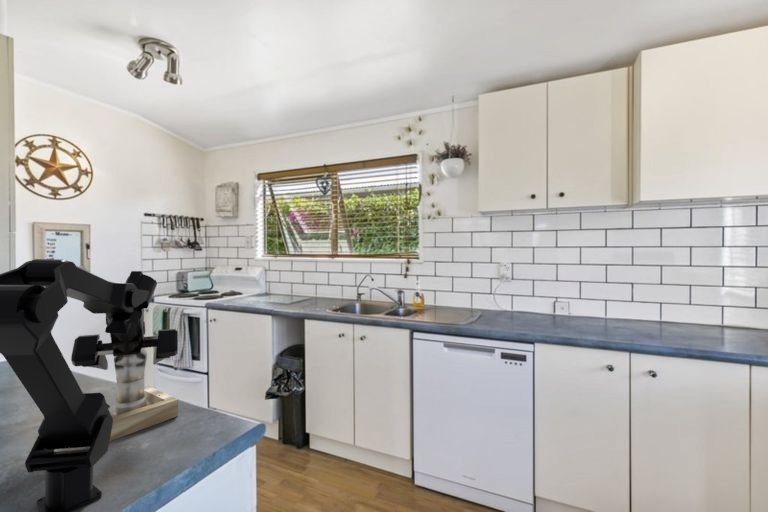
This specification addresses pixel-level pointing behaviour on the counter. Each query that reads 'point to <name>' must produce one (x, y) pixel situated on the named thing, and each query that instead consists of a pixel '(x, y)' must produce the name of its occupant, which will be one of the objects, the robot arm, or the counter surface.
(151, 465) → the counter surface
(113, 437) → the bracket
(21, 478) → the counter surface
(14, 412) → the counter surface
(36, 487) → the counter surface
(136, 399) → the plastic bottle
